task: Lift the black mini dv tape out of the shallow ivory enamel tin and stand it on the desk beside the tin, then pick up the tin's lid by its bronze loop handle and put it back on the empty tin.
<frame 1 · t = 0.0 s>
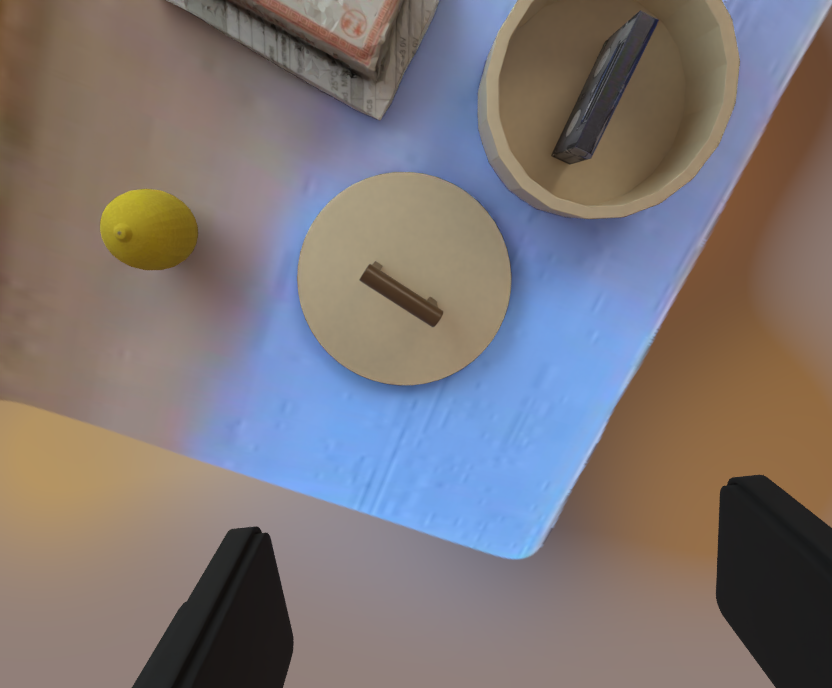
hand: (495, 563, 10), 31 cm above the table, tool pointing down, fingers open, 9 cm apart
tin: (585, 105, 37), on the table
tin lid: (404, 283, 40), point 1 cm above the table
mini dv tape: (585, 105, 37), resting on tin
lemon: (179, 227, 39), on the table
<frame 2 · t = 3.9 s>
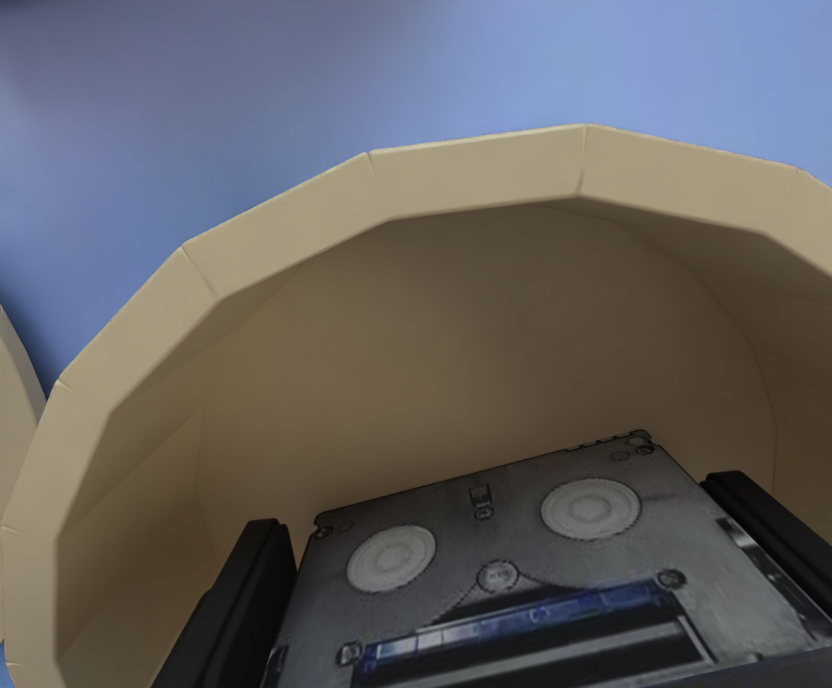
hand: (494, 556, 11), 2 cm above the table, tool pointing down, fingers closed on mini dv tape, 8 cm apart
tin: (481, 491, 13), on the table
mini dv tape: (482, 493, 13), resting on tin, touching gripper
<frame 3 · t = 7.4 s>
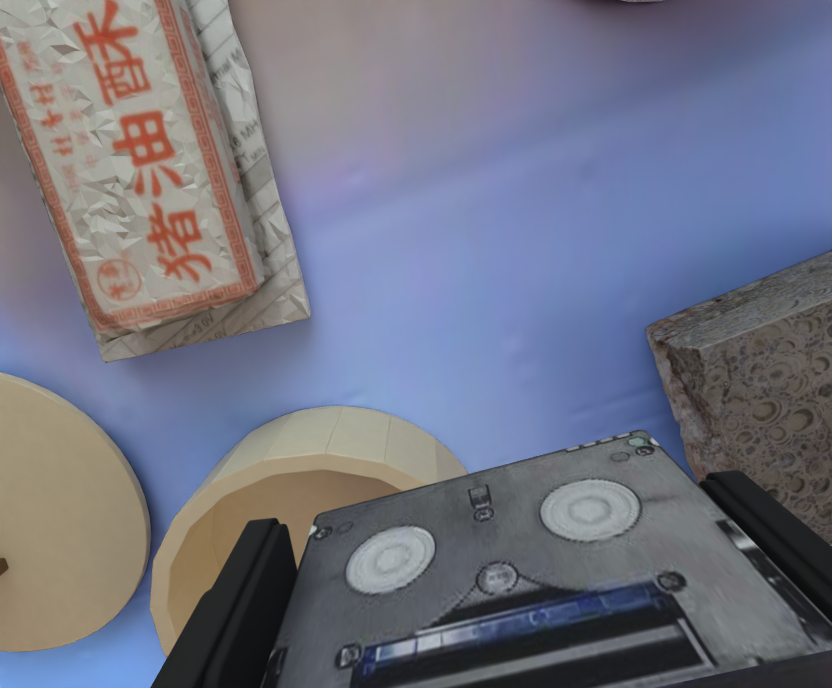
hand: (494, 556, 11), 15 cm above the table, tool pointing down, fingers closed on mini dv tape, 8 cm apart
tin: (344, 539, 28), on the table
mini dv tape: (481, 494, 13), point 13 cm above the table, touching gripper
packaged product: (159, 144, 23), on the table
geological specimen: (798, 364, 25), on the table
when the fingers open (2 cm above the table, at t = 11.0 s): mini dv tape stays where it is, on the table.
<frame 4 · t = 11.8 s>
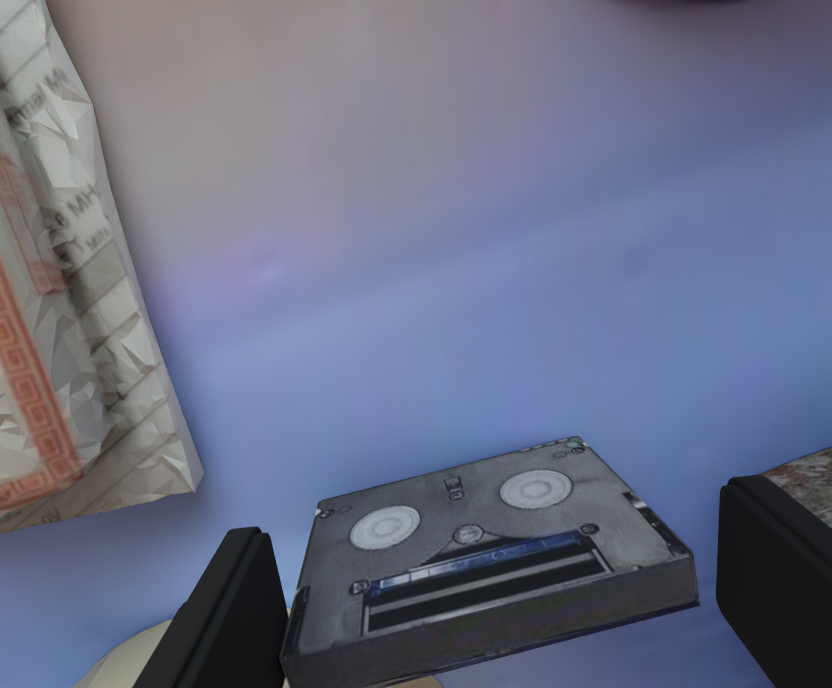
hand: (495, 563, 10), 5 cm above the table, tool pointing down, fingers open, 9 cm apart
mini dv tape: (453, 486, 16), on the table
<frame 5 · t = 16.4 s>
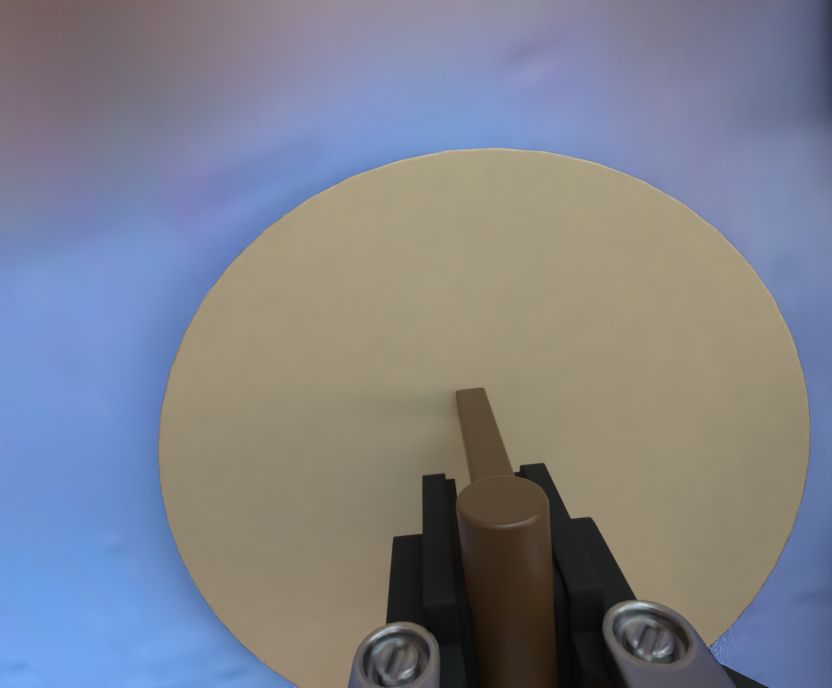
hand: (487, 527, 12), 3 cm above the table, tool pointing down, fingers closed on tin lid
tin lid: (478, 481, 13), point 1 cm above the table, touching gripper
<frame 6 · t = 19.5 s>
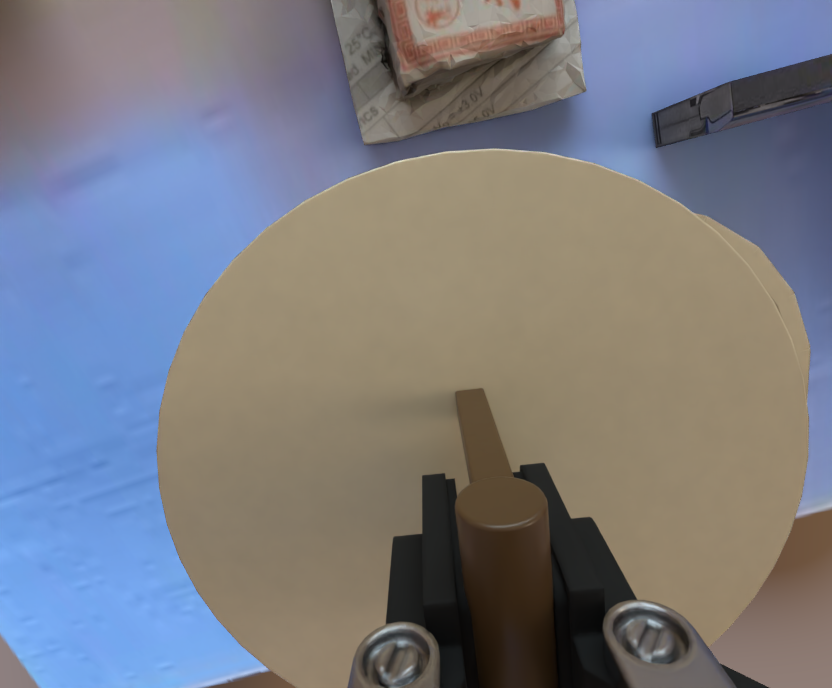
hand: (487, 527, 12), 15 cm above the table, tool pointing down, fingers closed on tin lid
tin: (578, 363, 26), on the table
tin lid: (477, 481, 13), point 13 cm above the table, touching gripper
mini dv tape: (740, 107, 23), on the table
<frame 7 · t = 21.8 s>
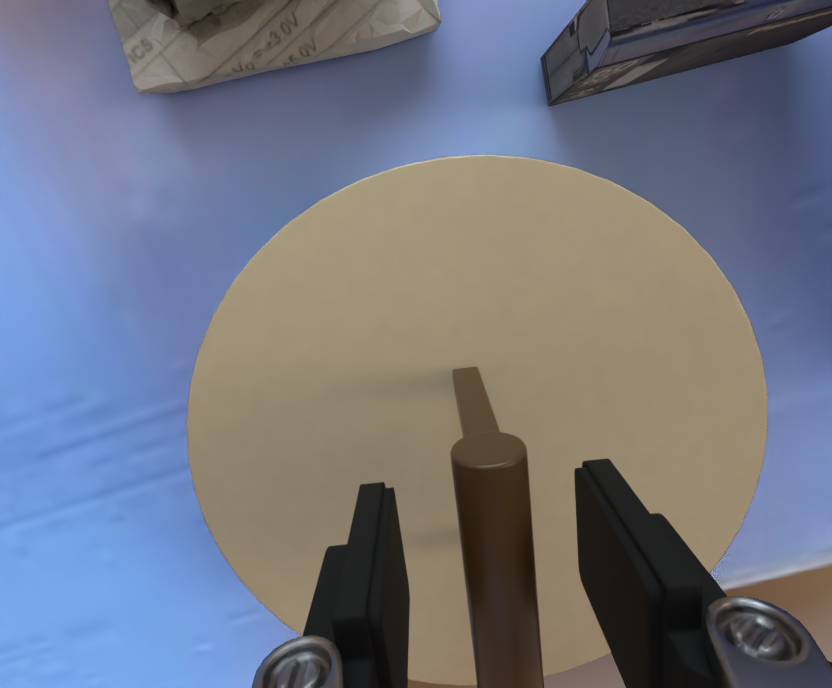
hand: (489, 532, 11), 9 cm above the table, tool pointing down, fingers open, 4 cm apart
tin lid: (472, 452, 15), point 5 cm above the table, touching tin
mini dv tape: (662, 53, 17), on the table
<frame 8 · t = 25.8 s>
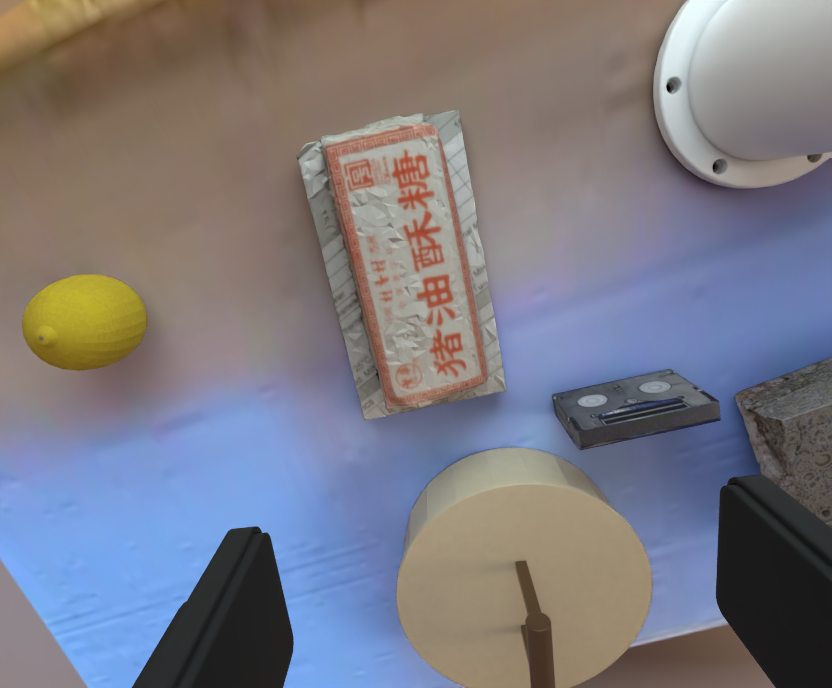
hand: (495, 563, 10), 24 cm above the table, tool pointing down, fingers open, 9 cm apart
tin: (508, 540, 38), on the table
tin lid: (522, 591, 33), point 5 cm above the table, touching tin
mini dv tape: (610, 390, 35), on the table
lemon: (129, 307, 34), on the table
packaged product: (408, 273, 33), on the table
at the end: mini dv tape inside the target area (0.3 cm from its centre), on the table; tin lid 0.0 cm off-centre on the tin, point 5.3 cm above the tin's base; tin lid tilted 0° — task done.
